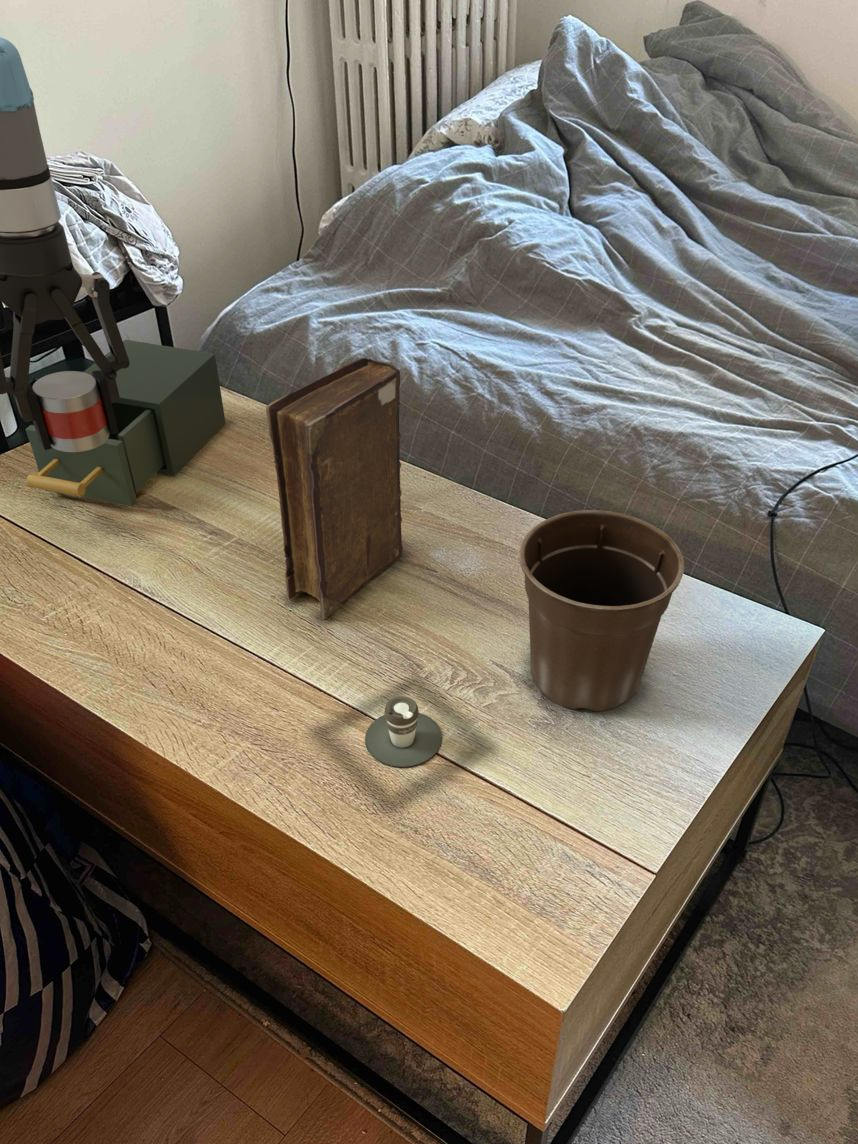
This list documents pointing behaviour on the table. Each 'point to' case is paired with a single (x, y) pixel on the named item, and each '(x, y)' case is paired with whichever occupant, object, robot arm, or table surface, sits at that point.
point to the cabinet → (173, 396)
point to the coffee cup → (403, 735)
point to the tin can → (72, 411)
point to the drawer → (104, 460)
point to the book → (339, 480)
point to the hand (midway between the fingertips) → (78, 435)
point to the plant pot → (595, 603)
